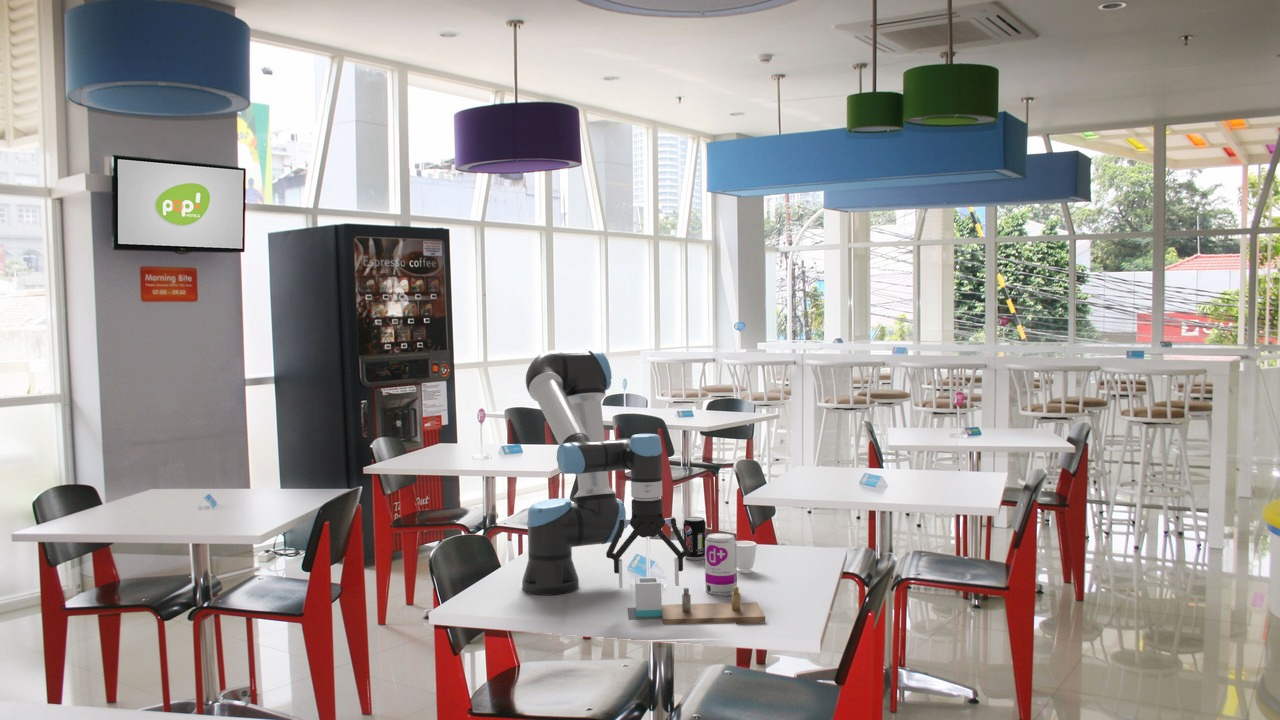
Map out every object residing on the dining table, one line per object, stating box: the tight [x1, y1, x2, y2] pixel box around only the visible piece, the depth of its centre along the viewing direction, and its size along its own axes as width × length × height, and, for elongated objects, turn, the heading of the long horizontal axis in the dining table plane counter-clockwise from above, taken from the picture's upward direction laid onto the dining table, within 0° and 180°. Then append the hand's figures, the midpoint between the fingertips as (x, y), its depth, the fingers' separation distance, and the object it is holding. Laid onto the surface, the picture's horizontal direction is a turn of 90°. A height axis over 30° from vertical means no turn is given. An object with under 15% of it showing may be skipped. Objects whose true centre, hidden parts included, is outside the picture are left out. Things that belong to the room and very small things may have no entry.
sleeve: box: [634, 576, 663, 617], centre depth 238 cm, size 6×6×8 cm
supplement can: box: [704, 532, 738, 597], centre depth 257 cm, size 8×8×15 cm
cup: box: [736, 540, 758, 574], centre depth 279 cm, size 7×10×8 cm
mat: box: [626, 607, 662, 621], centre depth 238 cm, size 10×10×1 cm
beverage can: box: [683, 516, 707, 561], centre depth 296 cm, size 7×7×12 cm
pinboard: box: [661, 586, 766, 625], centre depth 236 cm, size 24×12×7 cm, turn 92°
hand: (648, 585), depth 238 cm, fingers open, 13 cm apart
